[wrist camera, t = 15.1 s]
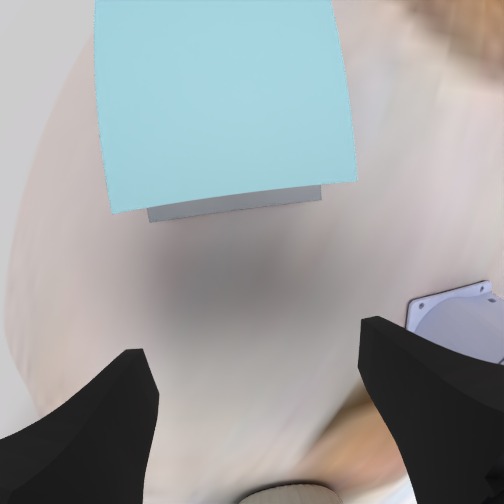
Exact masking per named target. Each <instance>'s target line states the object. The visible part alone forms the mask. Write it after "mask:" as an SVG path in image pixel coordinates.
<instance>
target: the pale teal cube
mask: <svg viewBox="0 0 504 504" xmlns="http://www.w3.org/2000/svg"><path fill="white" fill-rule="evenodd" d="M94 63H95V85H96V100H97V113H98V123H99V133H100V141H101V149H102V157H103V164H104V171H105V177H106V183H107V189H108V195H109V201H110V206H111V211H112V214H116V213H121V212H126V211H132V210H137V209H143V208H149V207H154V206H160V205H166V204H172V203H179V202H185V201H191V200H198V199H205V198H212V197H219V196H226V195H233V194H241V193H248V192H256V191H265V190H273V189H282V188H291V187H300V186H310V185H321V184H332V183H343V182H356V181H357V167H356V155H355V144H354V134H353V125H352V117H351V109H350V101H349V94H348V87H347V80H346V74H345V68H344V62H343V56H342V51H341V46H340V40H339V35H338V31H337V26H336V21H335V17H334V12H333V8H332V4H331V0H95V16H94Z"/></svg>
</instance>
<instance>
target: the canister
mask: <svg viewBox="0 0 504 504" xmlns="http://www.w3.org/2000/svg"><path fill="white" fill-rule="evenodd" d="M239 504H343V502H342V501H341V499H340V498H339V497H338V496H337V495H336V494H335V493H334V492H333V491H331V490H330V489H328V488H326V487H322V486H317V485H309V484H305V485H303V484H298V485H294V484H293V485H288V486H287V485H285V486H281V487H276V488H269V489H267V490H262V491H261V492H256V493H255V494H252V495H250V496H248V497H246V498H245V499H243V500H242V501H241V502H240V503H239Z"/></svg>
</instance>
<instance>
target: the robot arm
mask: <svg viewBox="0 0 504 504" xmlns="http://www.w3.org/2000/svg"><path fill="white" fill-rule="evenodd" d="M480 288H481V289H480ZM491 288H492V282H490V281H489V280H487V281H484V282H480V283H477V284H473V285H470V286H466V287H463V288H459V289H455V290H451V291H448V292H444V293H440V294H436V295H432V296H428V297H424V298H420V299H416V300H413V301H412V302H411V303H410V304H409V310H408V318H407V325H406V329H405V328H403V327H401V326H399V325H397V324H395V323H393V322H391V321H389V320H386V319H384V318H382V317H380V316H374V317H370V318H365V319H361V332H360V346H359V358H358V369H359V372H360V374H361V377H362V380H363V382H364V385H365V387H366V390H367V392H368V393H369V395H370V397H371V399H372V401H373V402H374V404H375V406H376V408H377V409H378V411H379V413H380V415H381V416H382V418H383V420H384V422H385V423H386V425H387V427H388V429H389V430H390V432H391V434H392V436H393V438H394V440H395V442H396V444H397V446H398V448H399V451H400V453H401V456H402V458H403V461H404V464H405V466H406V469H407V472H408V475H409V478H410V481H411V484H412V487H413V490H414V494H415V497H416V501H417V504H504V300H502V299H501V298H499V297H498V296H496V295H495V294H493V293H492V292H491ZM421 303H422V304H421ZM420 304H421V306H419V305H420ZM158 405H159V392H158V389H157V386H156V384H155V381H154V379H153V376H152V373H151V371H150V368H149V365H148V362H147V359H146V357H145V354H144V351H143V349H126V350H125V351H124V352H122V353H121V354H120V355H119V356H118V357H116V358H115V359H114V360H113V361H112V362H111V363H110V364H109V365H108V366H107V367H105V368H104V369H103V370H102V371H101V372H100V373H99V374H98V375H97V376H96V377H95V378H93V379H92V380H91V381H90V382H89V383H88V384H87V385H86V386H84V387H83V388H82V389H81V390H80V391H78V392H77V393H76V394H75V395H74V396H72V397H71V398H70V399H69V400H68V401H66V402H65V403H64V404H62V405H61V406H60V407H58V408H57V409H56V410H54V411H53V412H51V413H50V414H48V415H47V416H45V417H44V418H42V419H40V420H39V421H37V422H35V423H33V424H31V425H30V426H28V427H26V428H24V429H22V430H21V431H18V432H16V433H14V434H12V435H10V436H7V437H5V438H3V439H0V504H143V488H144V478H145V472H146V467H147V462H148V458H149V453H150V449H151V444H152V440H153V436H154V431H155V427H156V422H157V416H158Z"/></svg>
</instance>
